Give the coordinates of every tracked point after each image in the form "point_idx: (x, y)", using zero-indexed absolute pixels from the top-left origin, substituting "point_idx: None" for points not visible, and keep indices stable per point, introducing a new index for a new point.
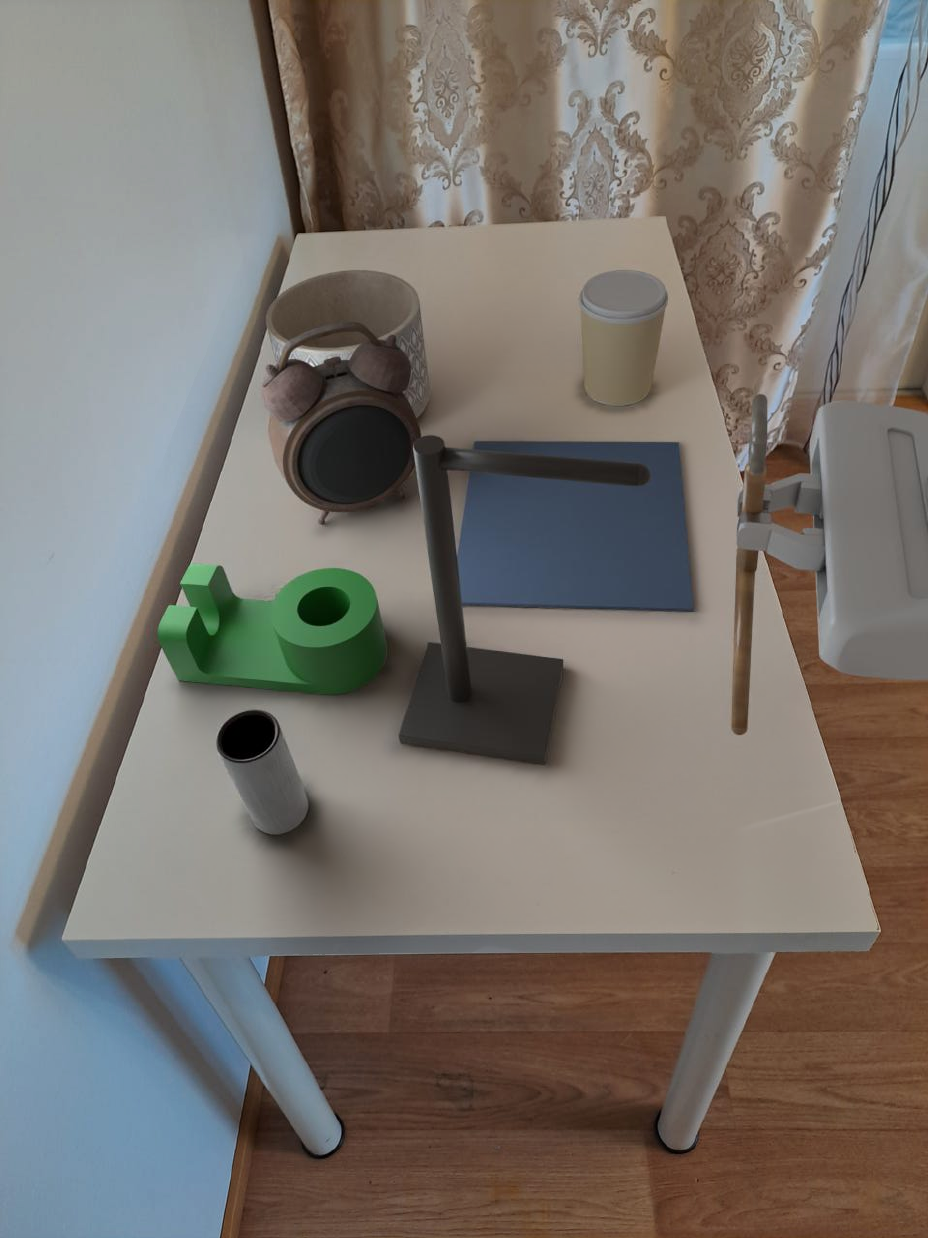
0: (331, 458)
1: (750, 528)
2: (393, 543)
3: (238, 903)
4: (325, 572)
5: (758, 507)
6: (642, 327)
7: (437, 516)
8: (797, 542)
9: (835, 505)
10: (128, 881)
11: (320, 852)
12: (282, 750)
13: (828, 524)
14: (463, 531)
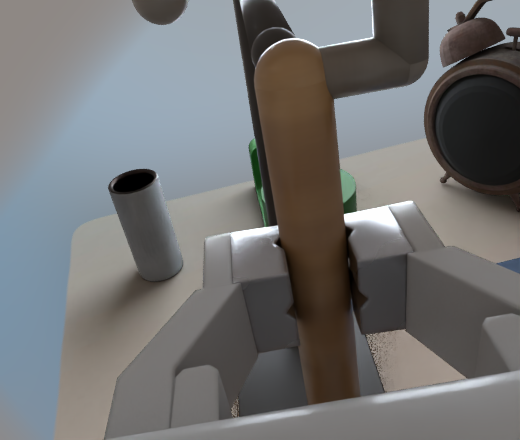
0: (457, 118)
1: (204, 247)
2: (459, 225)
3: (87, 277)
4: (344, 175)
5: (284, 231)
6: None
7: (245, 71)
8: (131, 363)
9: (330, 430)
10: (105, 228)
11: (127, 301)
12: (134, 206)
13: (183, 427)
14: (517, 260)
